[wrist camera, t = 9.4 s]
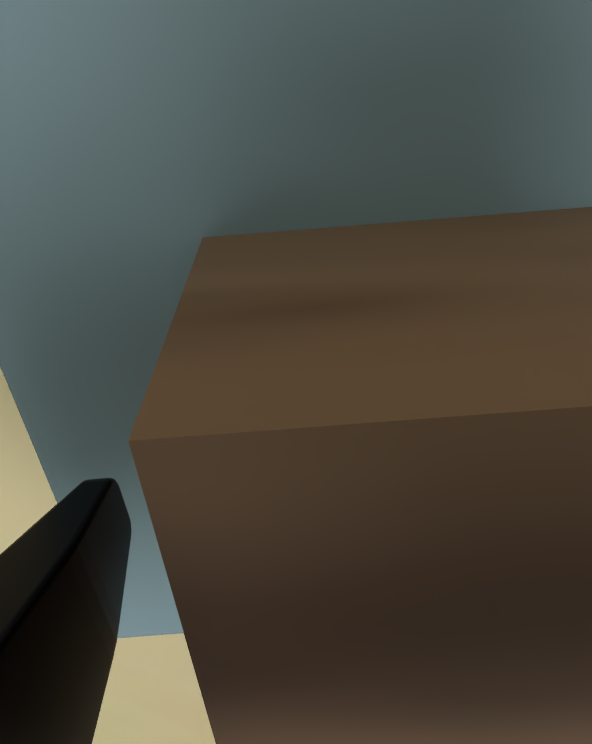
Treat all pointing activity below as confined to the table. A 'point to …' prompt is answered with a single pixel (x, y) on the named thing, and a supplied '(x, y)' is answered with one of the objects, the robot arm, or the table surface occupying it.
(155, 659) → the table surface
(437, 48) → the teal base box
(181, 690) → the table surface
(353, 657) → the walnut block
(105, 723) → the table surface
